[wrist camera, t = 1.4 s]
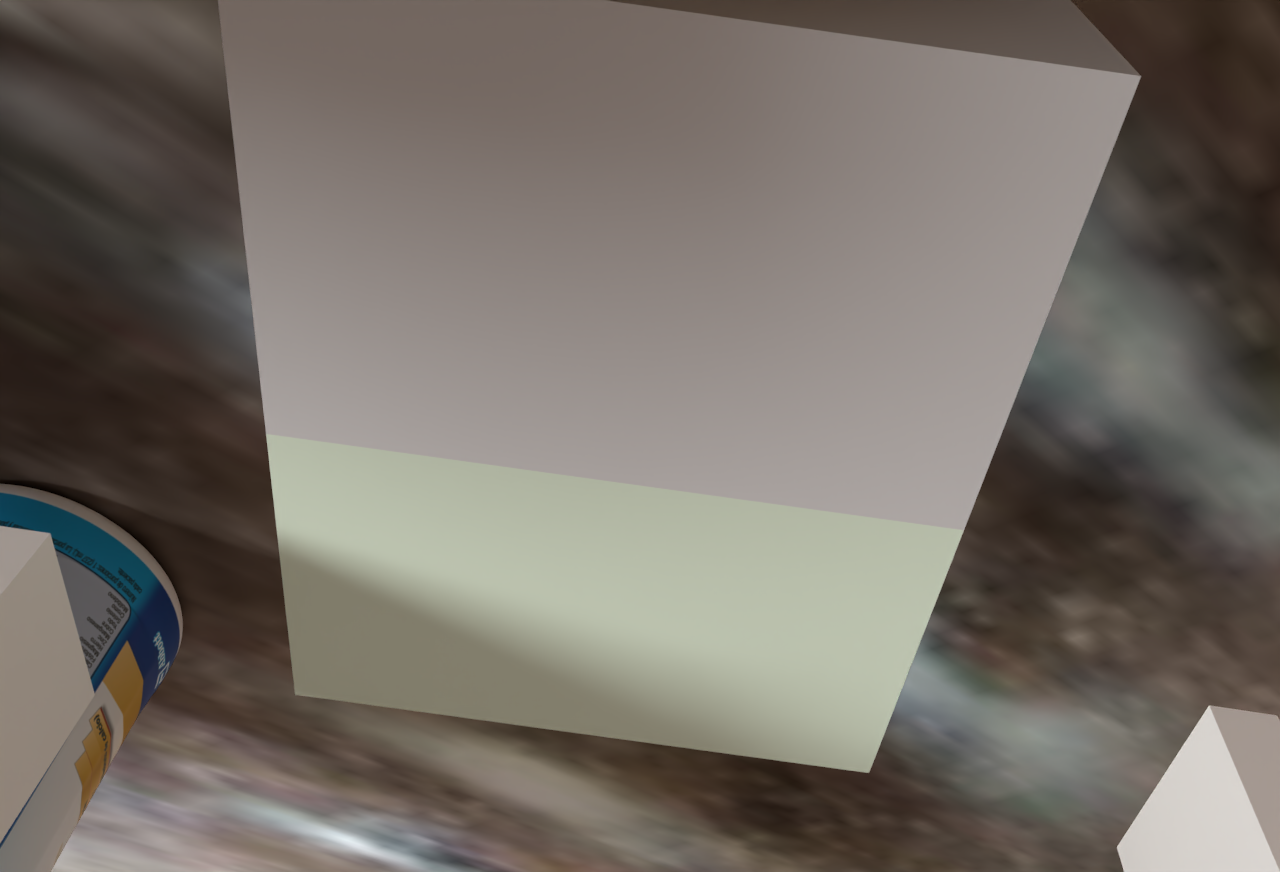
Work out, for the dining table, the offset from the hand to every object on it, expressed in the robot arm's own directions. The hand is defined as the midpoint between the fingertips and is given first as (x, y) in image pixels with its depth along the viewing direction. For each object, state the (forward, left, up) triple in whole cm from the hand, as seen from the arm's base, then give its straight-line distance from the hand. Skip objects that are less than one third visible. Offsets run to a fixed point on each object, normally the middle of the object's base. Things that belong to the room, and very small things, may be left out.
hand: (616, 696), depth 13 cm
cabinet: (0, +2, -13) cm, 13 cm away
